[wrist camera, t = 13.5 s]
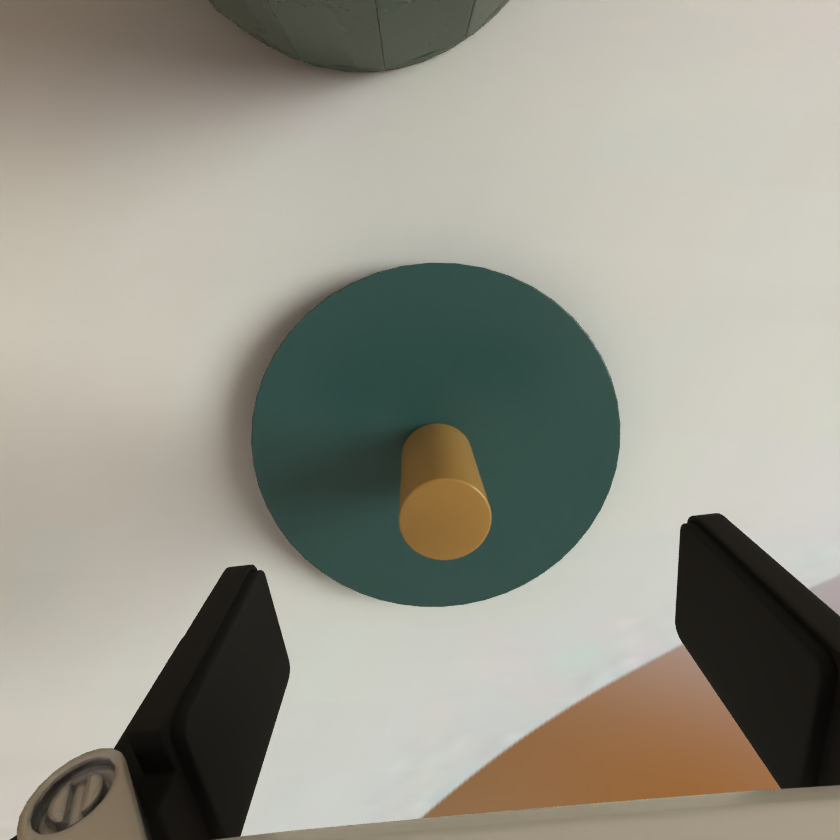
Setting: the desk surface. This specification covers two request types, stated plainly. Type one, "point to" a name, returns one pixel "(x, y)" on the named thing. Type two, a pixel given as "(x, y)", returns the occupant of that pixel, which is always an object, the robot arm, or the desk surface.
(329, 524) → the lid
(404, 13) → the tin
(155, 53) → the desk surface
